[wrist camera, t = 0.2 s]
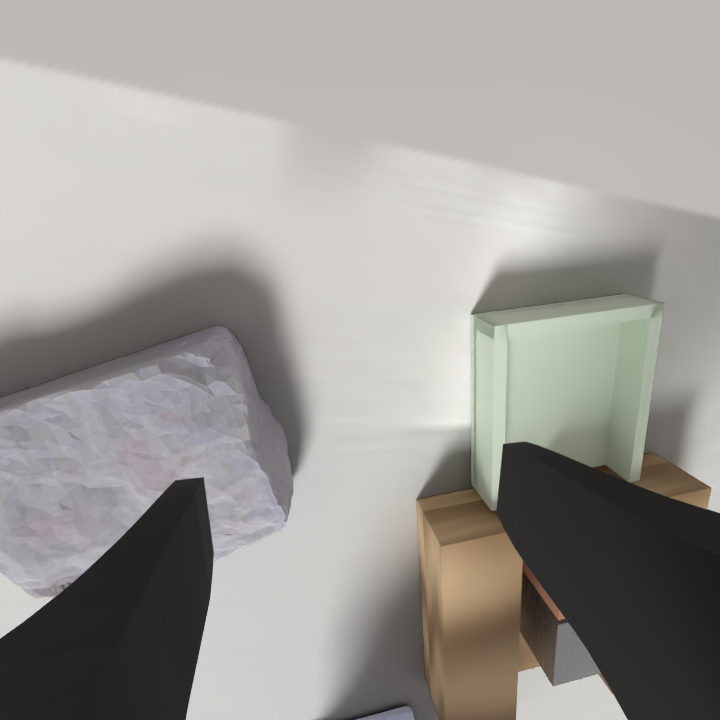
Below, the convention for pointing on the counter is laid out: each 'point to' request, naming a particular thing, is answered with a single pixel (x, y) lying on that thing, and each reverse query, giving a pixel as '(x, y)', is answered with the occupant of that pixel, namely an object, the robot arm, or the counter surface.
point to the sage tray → (563, 383)
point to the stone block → (136, 456)
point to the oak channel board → (490, 595)
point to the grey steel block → (552, 639)
